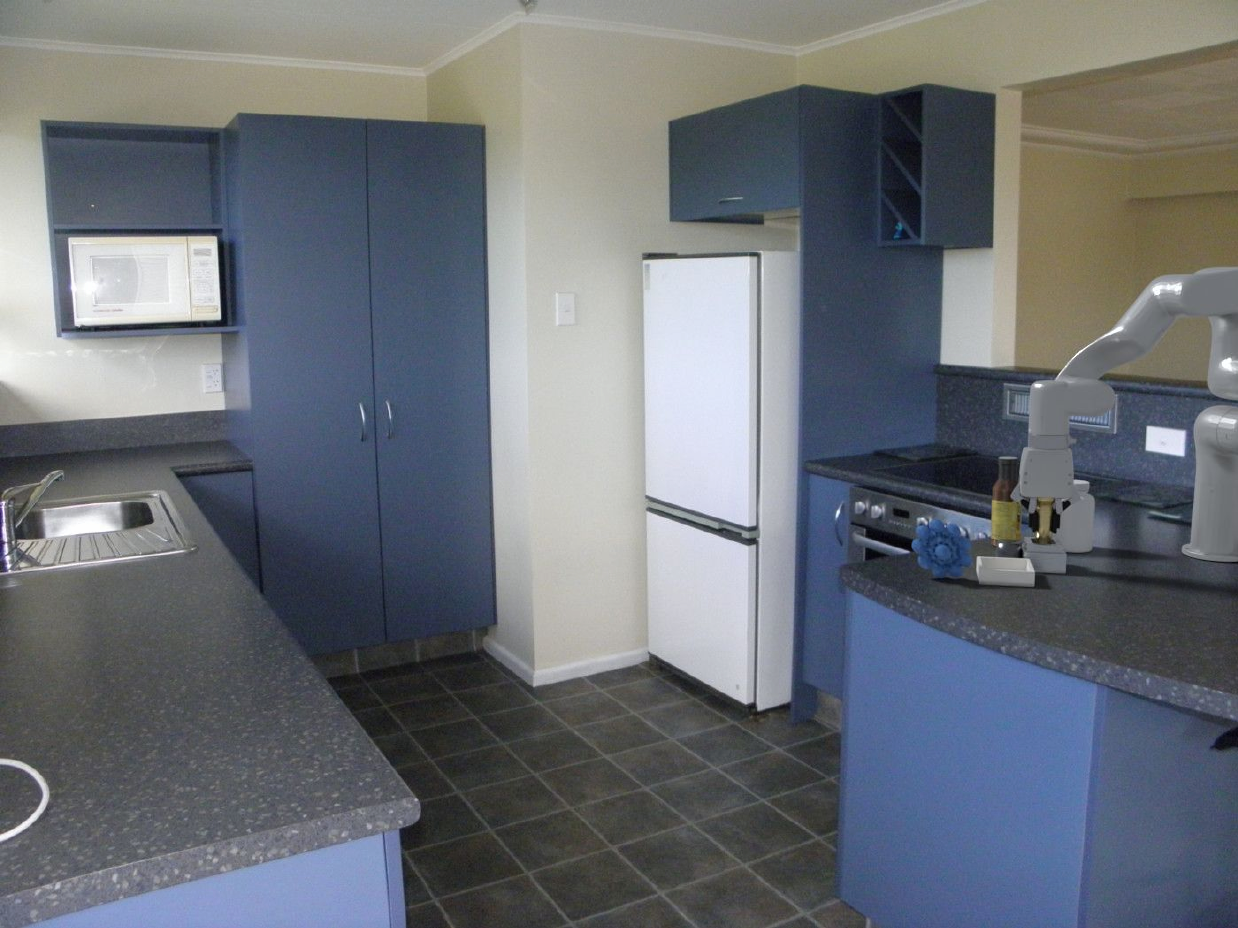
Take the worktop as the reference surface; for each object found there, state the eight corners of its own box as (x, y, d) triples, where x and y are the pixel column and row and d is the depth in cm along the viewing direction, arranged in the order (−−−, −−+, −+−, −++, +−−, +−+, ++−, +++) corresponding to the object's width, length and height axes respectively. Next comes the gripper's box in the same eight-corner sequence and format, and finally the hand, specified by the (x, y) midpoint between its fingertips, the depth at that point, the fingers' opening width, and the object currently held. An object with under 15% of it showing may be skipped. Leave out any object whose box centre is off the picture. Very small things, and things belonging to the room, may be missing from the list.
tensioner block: (1060, 563, 219) (1061, 537, 218) (1065, 573, 211) (1067, 546, 210) (994, 560, 222) (995, 534, 221) (996, 570, 214) (997, 544, 213)
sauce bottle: (1022, 550, 230) (1026, 460, 226) (992, 549, 231) (996, 460, 228) (1017, 542, 236) (1021, 455, 233) (988, 542, 237) (991, 455, 234)
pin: (1052, 546, 216) (1054, 493, 215) (1054, 551, 213) (1057, 496, 211) (1031, 545, 218) (1033, 492, 216) (1033, 550, 214) (1035, 496, 212)
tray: (1028, 573, 212) (1029, 558, 211) (1034, 587, 202) (1034, 571, 202) (976, 570, 214) (976, 556, 214) (979, 584, 205) (979, 569, 204)
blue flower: (911, 582, 207) (913, 523, 205) (910, 573, 213) (911, 515, 211) (973, 585, 204) (976, 525, 202) (970, 576, 211) (972, 517, 209)
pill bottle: (1090, 545, 232) (1094, 478, 230) (1093, 554, 225) (1097, 485, 222) (1051, 543, 235) (1054, 477, 232) (1053, 552, 227) (1057, 484, 225)
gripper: (1089, 440, 213) (1084, 529, 216) (1003, 438, 217) (999, 525, 220) (1095, 446, 206) (1090, 537, 209) (1006, 444, 210) (1002, 534, 213)
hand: (1043, 530), depth 214 cm, fingers closed on pin, 3 cm apart
